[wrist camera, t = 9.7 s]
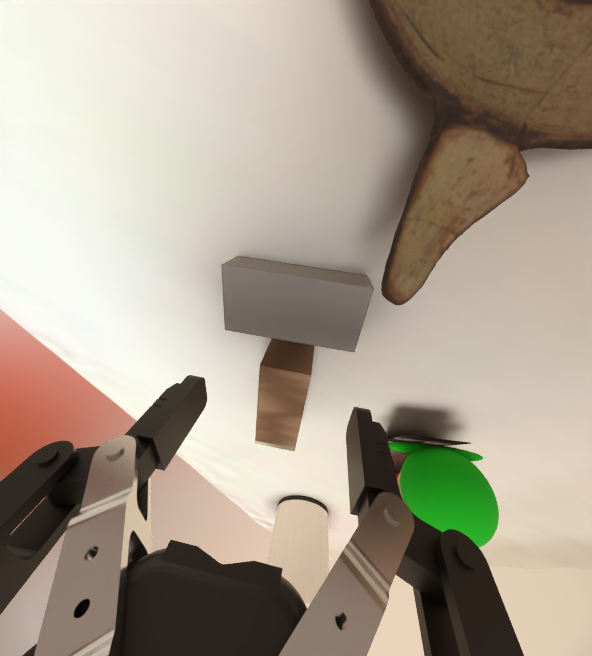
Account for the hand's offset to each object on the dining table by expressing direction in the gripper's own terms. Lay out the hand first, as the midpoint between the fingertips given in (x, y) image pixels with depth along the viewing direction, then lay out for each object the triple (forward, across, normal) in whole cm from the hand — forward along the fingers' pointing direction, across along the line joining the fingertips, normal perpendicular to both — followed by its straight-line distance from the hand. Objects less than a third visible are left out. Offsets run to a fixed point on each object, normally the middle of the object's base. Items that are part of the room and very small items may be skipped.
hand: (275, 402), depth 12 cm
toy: (+9, -14, +14) cm, 22 cm away
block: (+7, 0, +2) cm, 7 cm away
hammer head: (+9, 0, -3) cm, 9 cm away
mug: (+9, -5, +34) cm, 36 cm away
